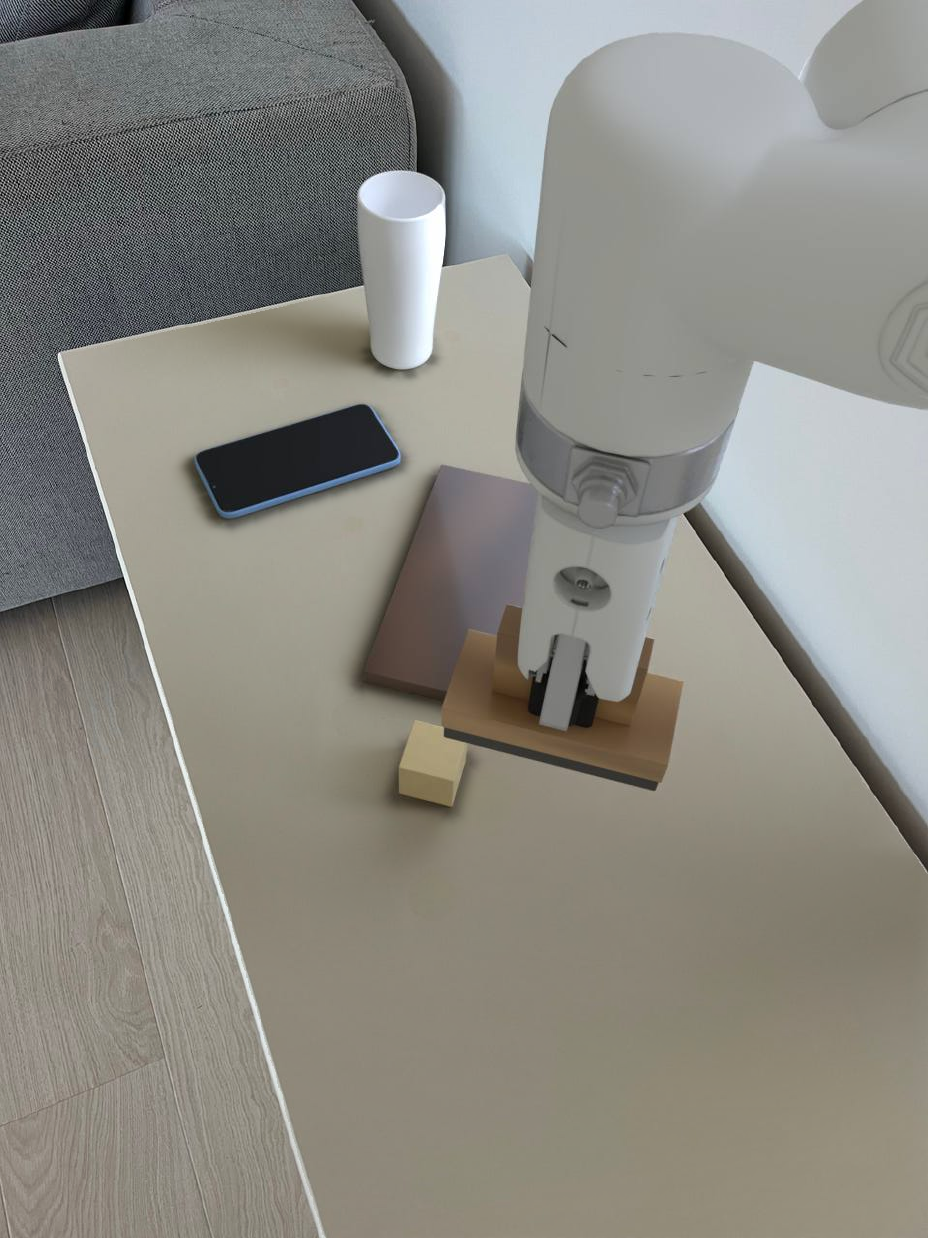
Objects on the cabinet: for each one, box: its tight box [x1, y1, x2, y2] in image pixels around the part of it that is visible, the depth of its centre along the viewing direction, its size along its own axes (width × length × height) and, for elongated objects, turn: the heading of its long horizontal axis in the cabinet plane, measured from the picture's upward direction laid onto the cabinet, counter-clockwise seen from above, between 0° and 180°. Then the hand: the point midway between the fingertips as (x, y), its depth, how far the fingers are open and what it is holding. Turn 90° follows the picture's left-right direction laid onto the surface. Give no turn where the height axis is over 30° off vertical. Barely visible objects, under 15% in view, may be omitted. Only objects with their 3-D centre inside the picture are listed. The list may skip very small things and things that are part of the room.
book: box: [363, 464, 538, 701], centre depth 77 cm, size 14×20×1 cm
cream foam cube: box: [398, 719, 468, 808], centre depth 67 cm, size 4×4×4 cm
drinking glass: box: [356, 169, 446, 370], centre depth 87 cm, size 7×7×15 cm
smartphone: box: [194, 403, 402, 519], centre depth 84 cm, size 7×1×15 cm
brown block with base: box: [440, 604, 684, 792], centre depth 52 cm, size 5×11×8 cm, turn 75°
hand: (566, 693), depth 53 cm, fingers closed on brown block with base
